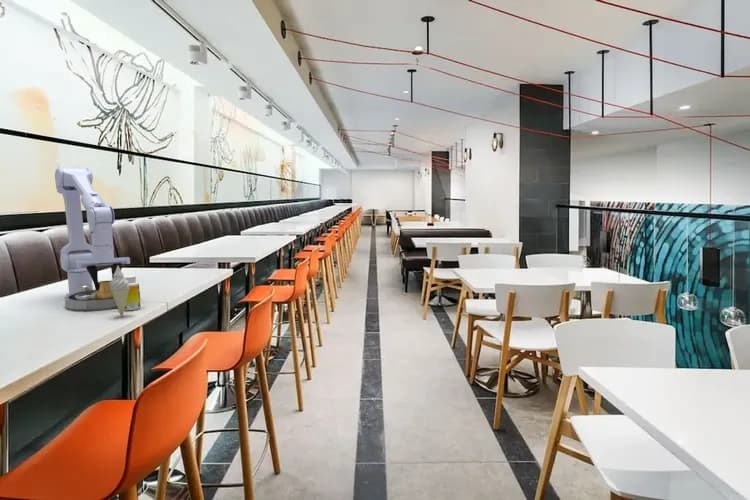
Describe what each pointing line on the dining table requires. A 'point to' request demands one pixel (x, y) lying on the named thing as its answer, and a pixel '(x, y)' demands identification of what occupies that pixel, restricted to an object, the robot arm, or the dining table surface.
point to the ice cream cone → (119, 289)
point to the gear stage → (87, 300)
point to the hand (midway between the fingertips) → (105, 288)
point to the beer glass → (132, 294)
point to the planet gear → (103, 291)
